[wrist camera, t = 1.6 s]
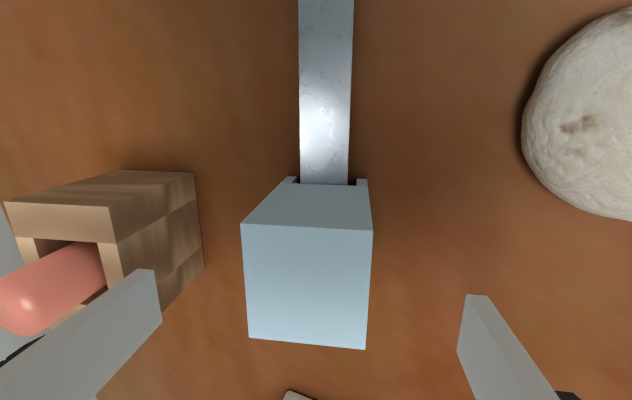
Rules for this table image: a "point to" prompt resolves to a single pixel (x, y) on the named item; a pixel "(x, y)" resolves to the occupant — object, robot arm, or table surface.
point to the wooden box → (118, 227)
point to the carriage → (309, 264)
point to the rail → (325, 89)
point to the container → (294, 396)
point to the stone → (585, 119)
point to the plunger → (50, 288)
